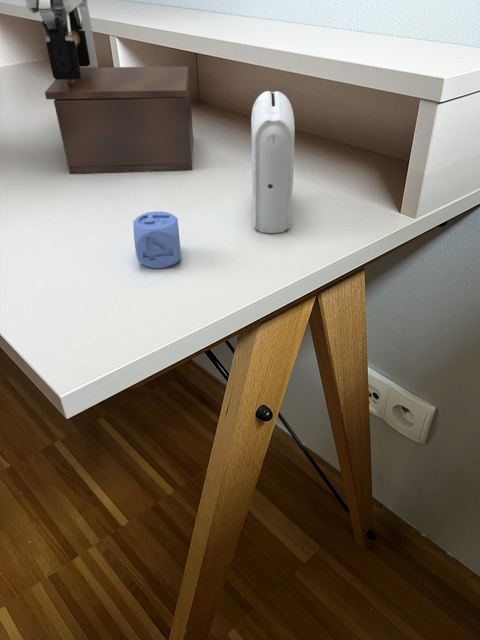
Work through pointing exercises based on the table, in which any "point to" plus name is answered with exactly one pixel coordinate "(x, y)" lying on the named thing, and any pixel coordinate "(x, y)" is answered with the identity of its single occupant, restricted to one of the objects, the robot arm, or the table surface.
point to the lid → (121, 82)
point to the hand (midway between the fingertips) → (72, 70)
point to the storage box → (126, 133)
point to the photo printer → (272, 162)
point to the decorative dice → (157, 239)
